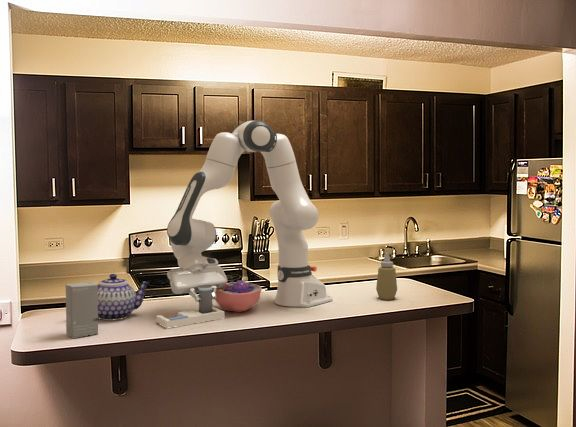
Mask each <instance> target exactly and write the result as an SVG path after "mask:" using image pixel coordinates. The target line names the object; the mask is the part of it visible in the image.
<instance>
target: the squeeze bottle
mask: <svg viewBox="0 0 576 427" xmlns="http://www.w3.org/2000/svg"><path fill="white" fill-rule="evenodd" d="M396 272H397V270H396V268H395V267H394V261H391V259H390V252H385V253H384V258H383V260H382V261H380V266H379V267H378V269H377V278H376V288H375V290H376V293H377V296H378V298H379V299H380V300H385V301H390V300H394V299H395V297H396V294H397V291H398V284H397V281H398V280H397V273H396Z"/></svg>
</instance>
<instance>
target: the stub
mask: <svg viewBox="0 0 576 427" xmlns="http://www.w3.org/2000/svg"><path fill="white" fill-rule="evenodd" d="M198 290H199V291H198V295H200V297H201V300H200V301H199V302H198V312H199V313H202V314H205V313H211V312H212V307H213V299H212V285H201V286H199V287H198Z"/></svg>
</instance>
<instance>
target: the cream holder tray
mask: <svg viewBox="0 0 576 427" xmlns="http://www.w3.org/2000/svg"><path fill="white" fill-rule="evenodd" d="M225 317H226V316H225V311H224V310H221V309H219V308H217V307H215V306H212V312H211V313H205V314H202V313H199V311H197V310H195V309H189V310H184V311H183V310H182V311H178V312H176V317H169V318H167V317H165V316H163V315H161V314H158V315H155V323H156V322H157V323H159V324H161V325H163V326H165V327H166V328H168V327H174V326H180V327H182V326H181V325H186V326H188V325H187V324H192V325H194V324H193V323H197V324H199V323H198V322H203V321H209V322H211V321H210V320H214V321H218V320H217V319H220V320H223V319H222V318H225ZM157 323H156V324H157ZM203 323H204V322H203ZM159 324H158V325H159ZM161 325H160V326H161ZM166 328H165V329H166Z"/></svg>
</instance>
